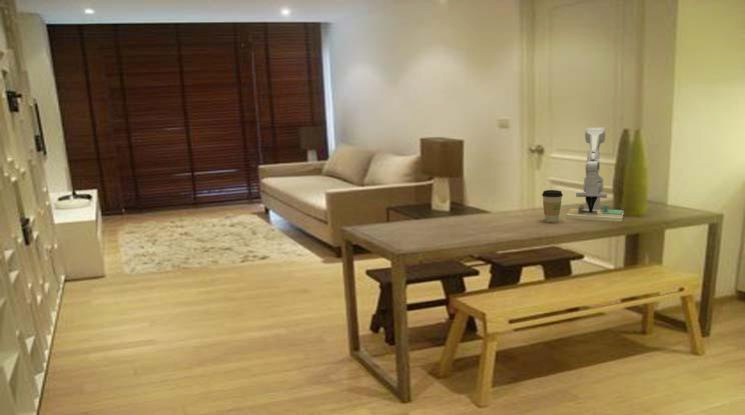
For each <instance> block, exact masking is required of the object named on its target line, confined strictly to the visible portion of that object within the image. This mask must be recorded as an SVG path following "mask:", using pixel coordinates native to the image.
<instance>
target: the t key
mask: <svg viewBox="0 0 745 415" xmlns="http://www.w3.org/2000/svg"><path fill="white" fill-rule="evenodd" d="M584 205H585V204H580V205H579V207H578V208H577V209H578V214H582V212H585V213H593V212H597V211H592V212H589V211H587V210H583V209H584V208H585V207H584Z"/></svg>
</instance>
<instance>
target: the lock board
mask: <svg viewBox="0 0 745 415" xmlns="http://www.w3.org/2000/svg"><path fill="white" fill-rule="evenodd" d="M583 210H585V209H583ZM587 211H589V210H587ZM593 211H597V212H593V213H585V212H582V214H578V208H570V209H569V210H568V211H567V213H566V216H565V217H566V219H567V220H568V219H569V220H583V221H584V220H585V221H601V222H602V221H603V222H617V223H618V222H619V223H620V222H621V223H622V222H623V219H624V216H623V215H624V214H625V211H624V210H622V215H613V214H602V211H603V209H600V210H593Z"/></svg>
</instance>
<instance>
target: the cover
mask: <svg viewBox="0 0 745 415" xmlns="http://www.w3.org/2000/svg"><path fill="white" fill-rule="evenodd" d="M602 210H603V211H602V214H613V215H622V211H623V209H609V204H604V205H603V209H602Z"/></svg>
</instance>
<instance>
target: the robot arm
mask: <svg viewBox="0 0 745 415" xmlns="http://www.w3.org/2000/svg"><path fill="white" fill-rule="evenodd" d="M584 139H585V143H586V144H587V143H588V144H589V147H590V149H589V150H588V151H587V154H586V155H587V157H586V162H585V177H584V179H583V188H582V189H583V192H576V193H575V197H576V198H585V207H584V209H585V210H589V212H592V211H593V210H602V206H601V199H608V193H603V192H604V178H603V177H602V176H600V174H599V171H600V169H601V164H600V163H601V161H600V147H601V144H603V143H605V141H606V126H603V127H598V126H597V127H589V126H587V127H585V132H584Z"/></svg>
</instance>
